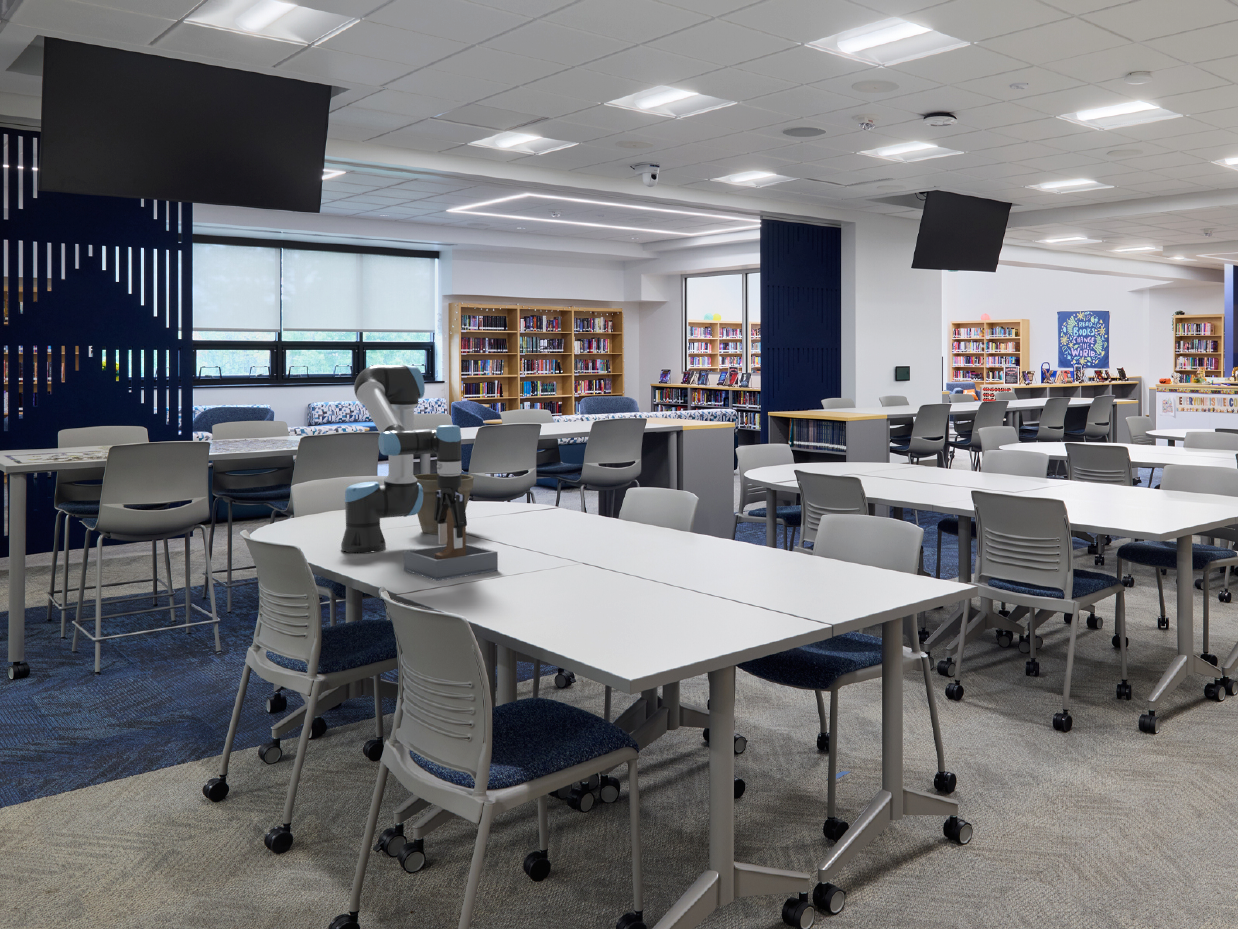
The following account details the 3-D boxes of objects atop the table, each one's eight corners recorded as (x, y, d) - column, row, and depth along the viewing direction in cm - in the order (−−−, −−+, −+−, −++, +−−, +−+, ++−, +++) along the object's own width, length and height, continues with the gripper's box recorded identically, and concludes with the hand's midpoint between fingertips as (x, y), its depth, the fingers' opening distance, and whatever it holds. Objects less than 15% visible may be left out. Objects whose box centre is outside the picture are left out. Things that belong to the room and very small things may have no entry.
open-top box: (404, 570, 303) (403, 551, 302) (463, 560, 317) (463, 542, 317) (436, 580, 288) (436, 561, 287) (497, 570, 302) (497, 551, 302)
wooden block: (441, 570, 298) (440, 513, 296) (434, 567, 301) (433, 511, 299) (466, 566, 303) (465, 510, 301) (459, 564, 307) (458, 508, 305)
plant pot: (482, 527, 383) (482, 473, 381) (461, 538, 359) (460, 480, 357) (424, 525, 388) (423, 472, 385) (399, 535, 364) (397, 479, 361)
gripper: (421, 472, 305) (422, 542, 307) (457, 478, 289) (458, 552, 291) (442, 470, 310) (443, 539, 312) (478, 476, 294) (479, 549, 296)
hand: (450, 545), depth 302 cm, fingers open, 8 cm apart
